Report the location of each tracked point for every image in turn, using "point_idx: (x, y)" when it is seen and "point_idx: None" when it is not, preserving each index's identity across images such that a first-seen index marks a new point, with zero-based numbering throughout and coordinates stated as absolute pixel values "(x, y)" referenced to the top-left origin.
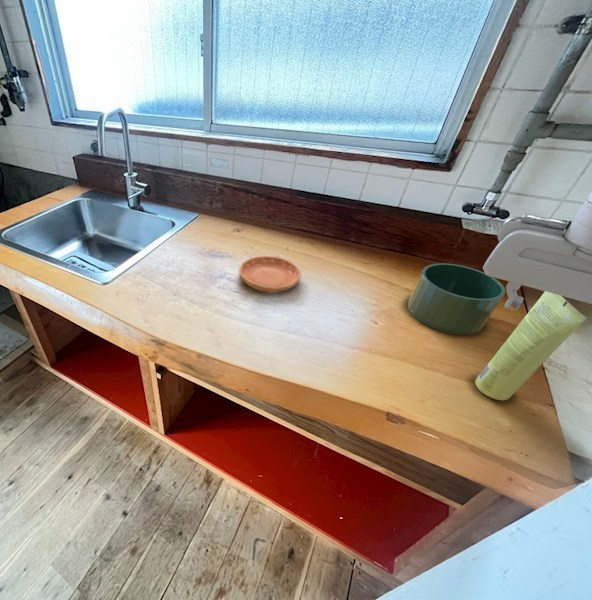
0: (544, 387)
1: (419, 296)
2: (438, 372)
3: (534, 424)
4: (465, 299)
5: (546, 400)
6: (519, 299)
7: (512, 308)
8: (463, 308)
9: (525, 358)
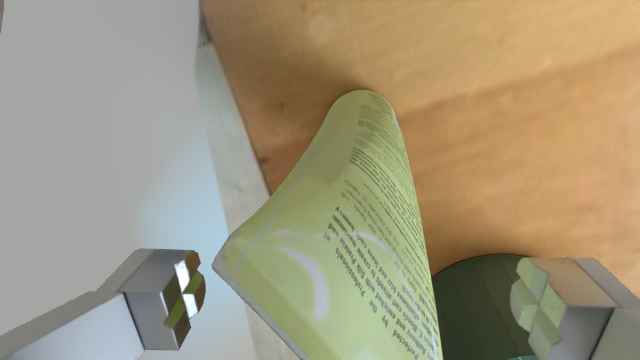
0: None
1: None
2: (476, 93)
3: (272, 74)
4: (528, 351)
5: (271, 169)
6: (576, 335)
7: (558, 260)
8: (504, 323)
9: (355, 125)
